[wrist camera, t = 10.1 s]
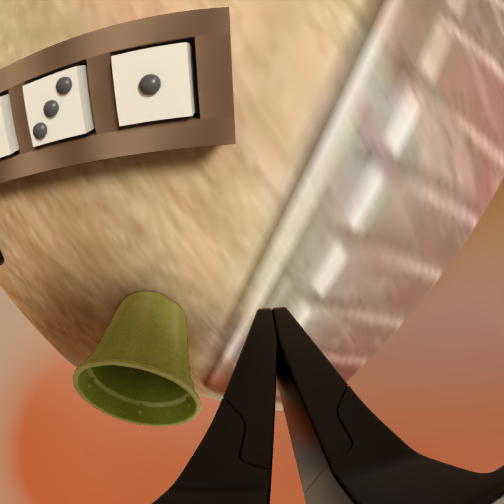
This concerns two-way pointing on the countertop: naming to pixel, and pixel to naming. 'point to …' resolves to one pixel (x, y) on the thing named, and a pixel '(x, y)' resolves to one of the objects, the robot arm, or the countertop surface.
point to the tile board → (103, 94)
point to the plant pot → (142, 365)
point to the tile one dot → (155, 83)
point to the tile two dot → (7, 128)
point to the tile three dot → (59, 106)
